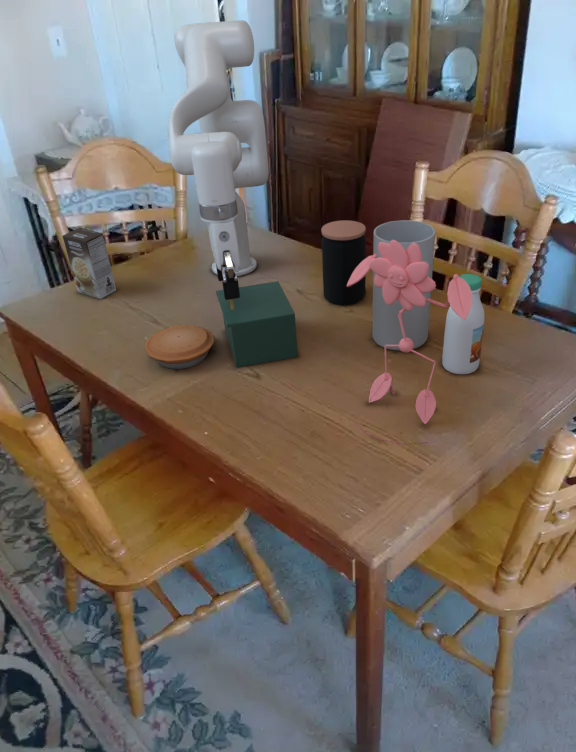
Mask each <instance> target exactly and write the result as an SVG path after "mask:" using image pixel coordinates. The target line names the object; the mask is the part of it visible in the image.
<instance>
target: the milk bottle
mask: <svg viewBox="0 0 576 752" xmlns="http://www.w3.org/2000/svg"><path fill="white" fill-rule="evenodd" d="M459 277H460V278H463V279H464V280H465V281H466V282H467V284H468V285H469V287H470V289H471V293H472V306H471V309H470V311H469V314H468V316H467V318H466V319H465V320H464V319H462V318H461V317H460V316H459V315H457V314H456V313H455V312H454V311H453V310H452V308H451V306H449V308H448V309H447V314H446V318H445V326H444V336H443V346H442V358H441V359H442V360H441V364H442V367H443V368H444V369H445V370H446V371H447V372H449V373H452V374H455V375H456V374H457V375H468V374H471V373H474V372H475V371H477V369H479V366H480V362H481V360H480V359H481V353H482V345H483V338H484V330H485V321H486V320H485V319H486V318H485V317H486V316H485V315H486V314H485V309H484V306H483V303H482V301H481V297H480V291H481V290H482V280H483V279H482V277H481V276H479V275H477V274H473V273H465V274H464V273H463V274H461V275H459Z"/></svg>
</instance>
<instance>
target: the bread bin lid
mask: <svg viewBox="0 0 576 752" xmlns="http://www.w3.org/2000/svg"><path fill="white" fill-rule="evenodd" d="M215 292H216V293H215V294H216V296H217V299H218V303H219V306H220V309H221V312H222V316H223V315H224V318H223V320H224V319H225V322H226V325H227V328H229V327H235V326H241V325H247V324H253V323H260V322H266V321H272V320H278V319H284V318H290V317H295V318H296V314H295V311H294V309H293V307H292V305H291V303H290V301H289V299H288V298H287V296H286V294H285V291H284V289H283V287H282V286H281V283H280V282H279V280H277V281H271V282H270V281H269V282H265V283H258V284H251V285H244V286H239V292H240V297H239V298H236V299H230V300H225V298H224V290H223V289H219V290H215Z"/></svg>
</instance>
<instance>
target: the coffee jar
mask: <svg viewBox="0 0 576 752" xmlns="http://www.w3.org/2000/svg"><path fill="white" fill-rule="evenodd" d="M320 231H321V235H322V237H321V260H322V261H321V264H322V289H323V291H322V292H323V293H322V294H323V297H324V298H325V299H326V301H327V302H328V303H330V304H332V305H335V306H343V307H344V306H352V305H356V304H358V303H360V302H361V301H362V300H363V299H364V297H365V295H366V288H367V287H366V285H367V284H366V281H367V279H366V276H367V274H366V275H365V276H364V277H363V278H362V279H361V280H360V281H358V282H357V283H355V284H353V285H351V286H349V287H347V284H348V281H349V279H350V277H351V275H352V273H353V271H354V270H355V269H356V267H357V266H358V265H359V264H360V263H361V262H362V261H363V260H364V259H366V258H367V238H366V235H365V234H366V231H367V228H366V225H365V224H363V223H362V222H359V221H356V220H346V219H345V220H343V219H342V220H335V221H331V222H328V223H325V224H324V225H322V227H321V229H320Z"/></svg>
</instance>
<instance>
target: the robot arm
mask: <svg viewBox="0 0 576 752" xmlns="http://www.w3.org/2000/svg"><path fill="white" fill-rule="evenodd" d="M173 38H174V39H173V41H174V45H175V49H176V52H177V54H178V56H179V59H180V61H181V63H182V65H183V66H184V68H185V82H186V90H185V91H184V92H183V93H182V94H181V95H180V97H179V98H178V99H177V100H176V102H175V104H174V105H173V107H172V108H171V111H170V113H169V117H168V119H167V138H168V139H167V140H168V154H169V160H170V162H171V166H172V168H173V170H174V171H175V172H176V173H177V174H179V175H181V176H193V177H194V183H195V184H194V185H195V189H196V195H197V203H198V210H199V217H200V220H201V221H202V222H204V223H206V224H207V231H208V238H209V242H210V248H211V252H212V255H213V259H214V261H213V263H212V264H211V270H212V272H213V273H214V274H216V275H217V280H218V281H219V282H222V283H221V284H222V290H224V298H225V300H230V299H236V298H239V297H240V292H239V287H240V285H239V279H238V277H240V276H245V275H248V274H250V273H251V272H253V271H255V270H256V268H257V267H258V265H257V260H256V259H255V258H254V257H252V256H251V251H250V243H249V234H248V223H247V213H246V205H245V202H244V199H242V197H241V196H240V195H239V194H238V192H237V191H236V190H237V189H241V188H243V189H244V188H253V187H255V188H256V187H262V186H264V185H266V184H267V183H268V180H269V175H270V174H269V173H270V172H269V171H270V170H269V169H270V168H269V159H268V146H267V135H266V125H265V119H264V112H263V110H262V107H261V105H260V104H259V103H258V102H257V101H256V100H251V99H244V100H241V99H240V100H233V99H232V95H231V85H230V84H231V83H230V78H229V76H228V72H227V69H234V68H235V69H236V68H245V67H250V66H251V65H252V64H253V61H254V59H255V41H254V35H253V32H252V29H251V26H250V25H249V23H248V22H247V21H246V20H240V19H239V20H227V21H205V22H196V23H189V24H184V25H182V26H179V27H178V28H176V30H175V32H174V37H173ZM197 121H198V123H199V124H198V125H199V129H200V130H199V131H200V132H198V133H187V134H186V133H185V132H186V130H187V129H188V128H189V127H190V126H191V125H193V124H194V123H195V122H197ZM184 133H185V134H184ZM242 144H246V145H248V147H247V146H246V147H242Z"/></svg>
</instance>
